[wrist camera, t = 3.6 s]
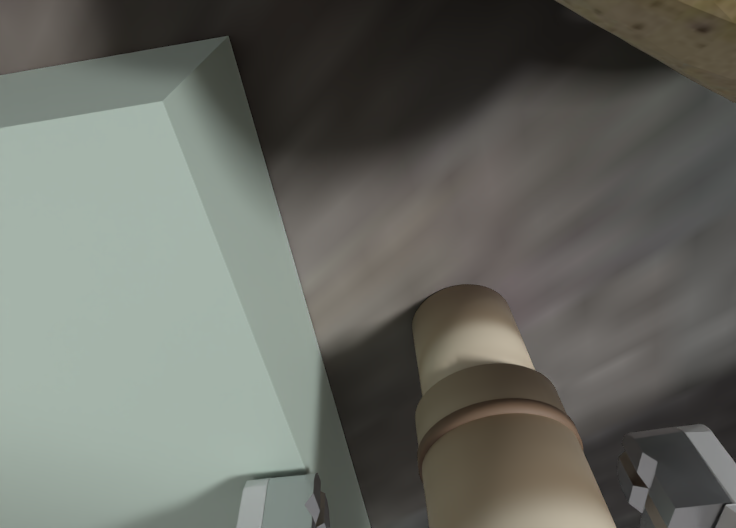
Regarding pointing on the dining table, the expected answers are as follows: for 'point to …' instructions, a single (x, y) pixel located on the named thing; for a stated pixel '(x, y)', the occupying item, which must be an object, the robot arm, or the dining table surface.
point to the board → (151, 303)
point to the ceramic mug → (675, 34)
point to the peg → (494, 424)
